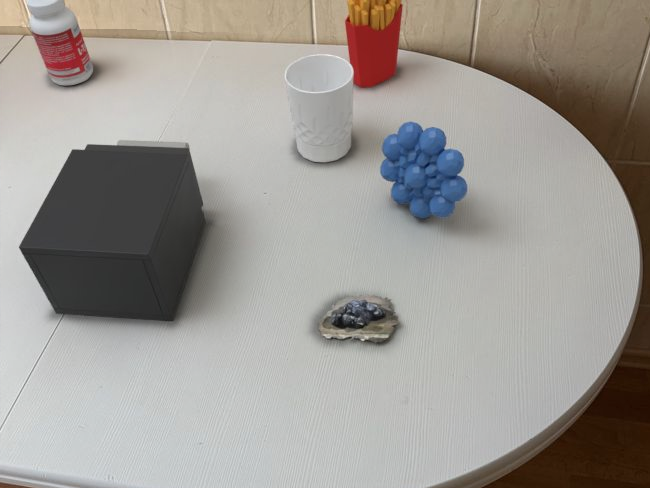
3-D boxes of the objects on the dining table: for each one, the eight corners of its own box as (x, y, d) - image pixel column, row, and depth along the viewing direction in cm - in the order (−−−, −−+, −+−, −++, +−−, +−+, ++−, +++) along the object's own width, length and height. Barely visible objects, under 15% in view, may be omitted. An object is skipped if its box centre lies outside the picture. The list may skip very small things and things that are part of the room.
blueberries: (405, 341, 69) (405, 329, 67) (324, 357, 68) (323, 345, 66) (387, 291, 73) (387, 278, 71) (311, 306, 72) (309, 293, 70)
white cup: (360, 129, 89) (358, 55, 81) (350, 168, 85) (347, 94, 77) (299, 125, 90) (292, 52, 83) (286, 163, 86) (277, 90, 78)
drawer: (119, 176, 85) (99, 120, 78) (211, 180, 83) (198, 123, 77) (68, 285, 74) (40, 230, 68) (173, 291, 73) (154, 236, 67)
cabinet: (100, 217, 82) (72, 148, 74) (206, 222, 80) (188, 153, 73) (55, 313, 73) (18, 247, 65) (173, 321, 72) (148, 254, 64)
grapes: (484, 220, 78) (499, 128, 69) (444, 251, 76) (454, 160, 66) (407, 173, 84) (411, 82, 74) (367, 201, 81) (366, 110, 71)
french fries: (360, 93, 94) (358, 4, 85) (342, 80, 96) (338, -8, 87) (408, 69, 97) (411, -20, 87) (389, 57, 99) (391, -31, 89)
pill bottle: (96, 81, 99) (69, 3, 90) (52, 91, 98) (21, 13, 89) (91, 59, 103) (65, -18, 94) (49, 68, 102) (18, -9, 93)
